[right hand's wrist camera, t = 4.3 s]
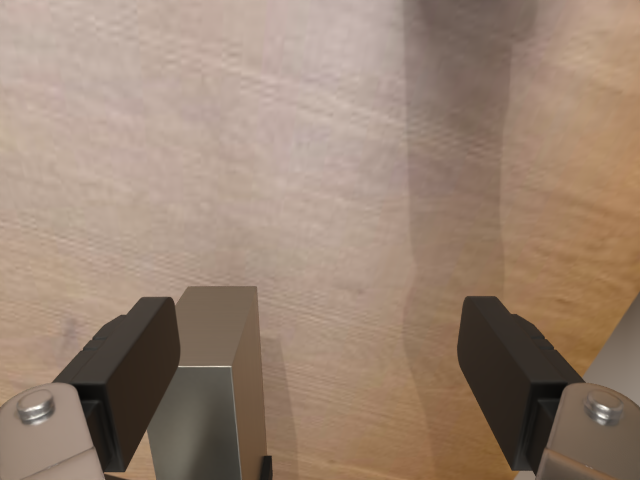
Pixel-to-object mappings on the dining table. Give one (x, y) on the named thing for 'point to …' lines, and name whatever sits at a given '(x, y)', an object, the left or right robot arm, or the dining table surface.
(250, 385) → the box
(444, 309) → the dining table surface
